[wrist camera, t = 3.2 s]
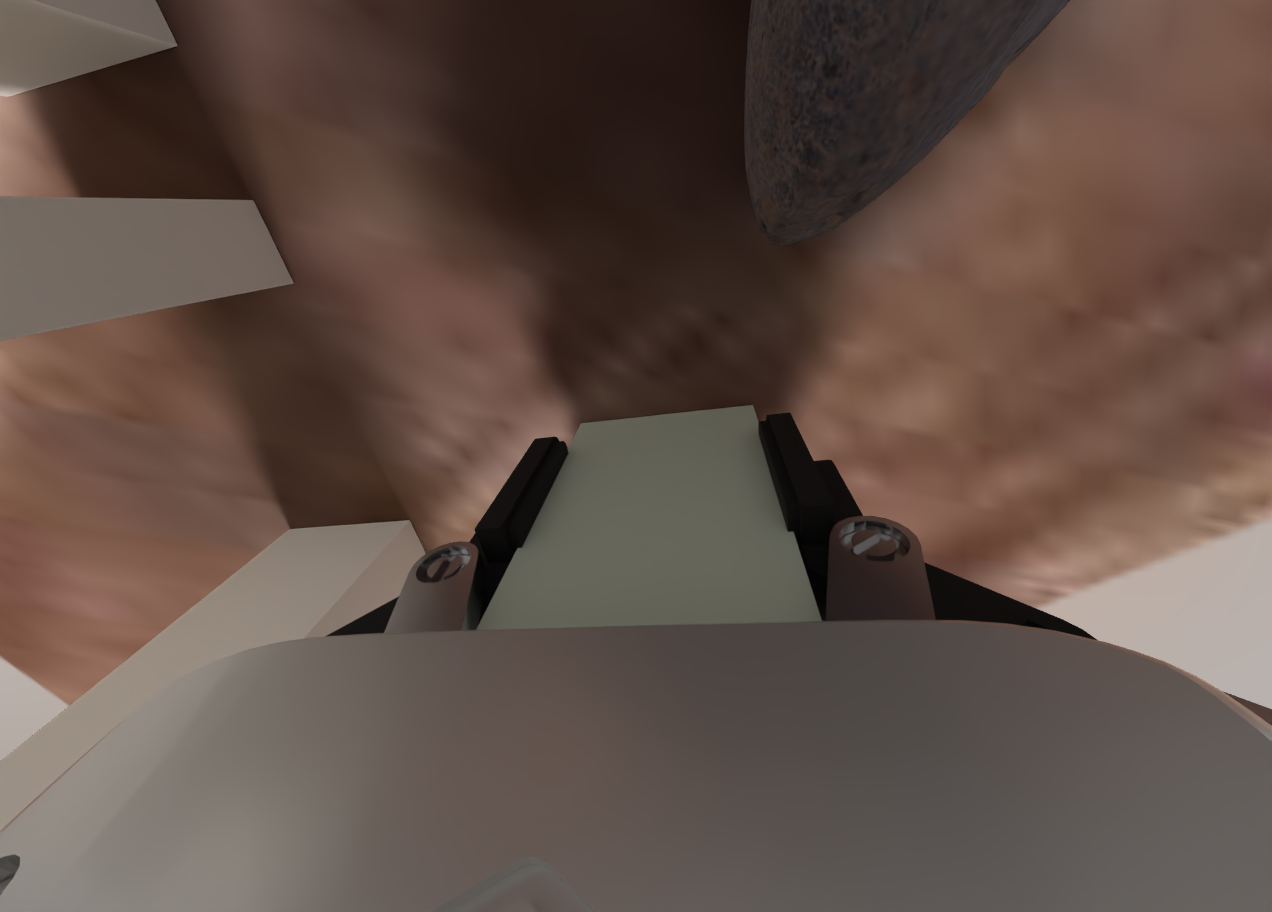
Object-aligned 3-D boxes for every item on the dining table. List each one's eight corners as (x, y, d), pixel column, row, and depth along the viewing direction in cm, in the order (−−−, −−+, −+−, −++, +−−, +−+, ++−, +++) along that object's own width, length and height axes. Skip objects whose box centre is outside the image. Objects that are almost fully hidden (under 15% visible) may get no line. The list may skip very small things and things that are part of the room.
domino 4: (409, 520, 16) (72, 895, 7) (430, 563, 17) (153, 941, 8) (289, 529, 17) (-142, 874, 8) (315, 569, 18) (-45, 918, 9)
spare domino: (753, 404, 13) (894, 851, 4) (755, 466, 13) (875, 939, 5) (580, 423, 13) (377, 823, 5) (594, 480, 14) (446, 903, 6)
